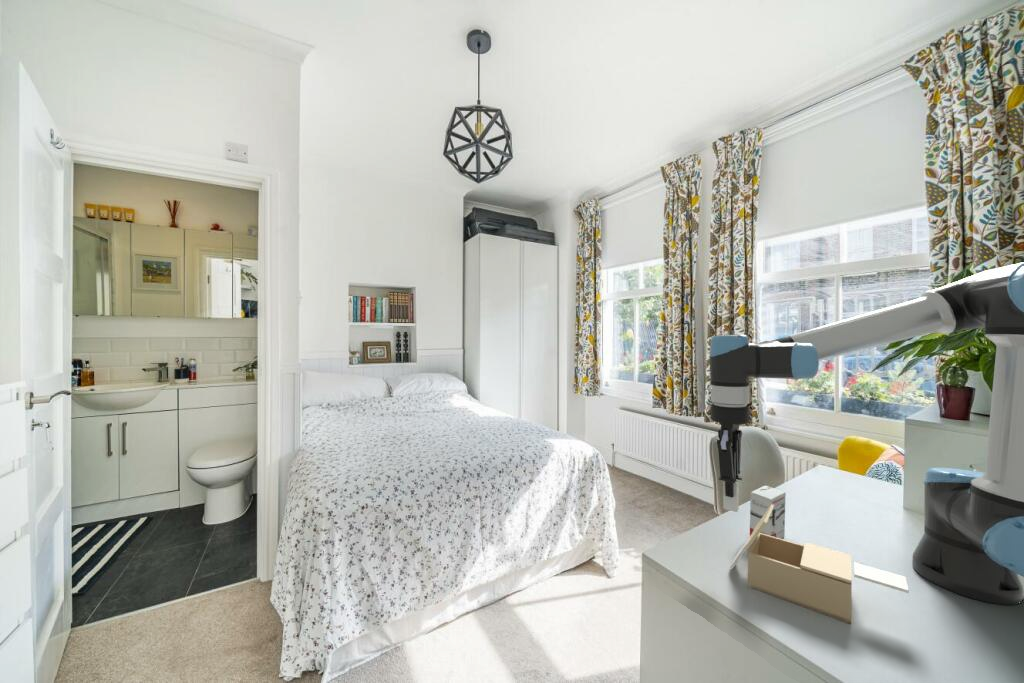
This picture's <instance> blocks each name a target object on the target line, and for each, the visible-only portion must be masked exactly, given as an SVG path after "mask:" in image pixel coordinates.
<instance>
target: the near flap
mask: <svg viewBox="0 0 1024 683" xmlns="http://www.w3.org/2000/svg"><path fill="white" fill-rule="evenodd" d="M803 545H804V549H803V554H802V559H801V564H800V567H801V568H804V569H807V570H810V571H814V572H817V573H820V574H823V575H826V576H830V577H833V578H836V579H839V580H842V581H845V582H849V583H852V581H853V580H852V577H853V575H852V572H853V573H854V578H857V579H860V580H863V581H866V582H870V583H873V584H877V585H878V586H879V585H881V586H883V587H886V588H890V589H893V590H897V591H900V592H904V593H906V594H909V592H910V591H909V590H910V589H909V587H908V582H907V577H906V576H904V575H901V574H897V573H894V572H890V571H887V570H883V569H879V568H876V567H873V566H870V565H865V564H862V563H858V562H856V561H853V571H852V554H848V553H845V552H842V551H838V550H835V549H831V548H828V547H824V546H820V545H817V544H814V543H810V542H804V544H803Z"/></svg>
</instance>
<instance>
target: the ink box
mask: <svg viewBox="0 0 1024 683" xmlns="http://www.w3.org/2000/svg"><path fill="white" fill-rule="evenodd" d="M786 496H787V495H786V491H783V490H779V489H777V488H774V487H771V486H769V485H763V486H761V487H759V488H757V489H755V490H753V491H751V492H750V505H749V506H750V509H749V511H750V512H749V536H750V535H751V534H752V532H753V530H754V528H755V527H756V525H757V524H758V523H759V521H760V520H761V518H762V517H763V515H764V514H765V513H766V511H767V510H768V508H769V507H770V506H771V504H773V505H774V507H773V509H772V512H771V514H770V516H769V519H768V521H767V523H766V525H765V526H764V527H763V529H762V530H761V532H760V533H763V534H766V535H770V536H773V537H777V538H780V539H783V538H784V537H785V533H786V532H785V529H786V528H785V526H786Z"/></svg>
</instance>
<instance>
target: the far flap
mask: <svg viewBox="0 0 1024 683" xmlns="http://www.w3.org/2000/svg"><path fill="white" fill-rule="evenodd" d="M773 507H774V505H773V504H771V506H770V507H769V508H768V510H767V511H766V513H765V514H764V515H763V517H762V518H761V520H760V521H759V523H758V524H757V525H756V527H755V528H754V530H753V532H752V534H751V535H750V534H749V537H748V538H747V540H746V541H745V542H744V544H743V545H742V547H740V549H739V551H738V552H737V554H736V555H735V557H734V559H733V561H732V563H731V564H730V566H729V568H730V569H731V570H733V569H734V567H735V566H736V565H737V563H738V562H739V560H740V559H741V558H742V556H743V555H744V553H745V552H746V551H749V549H750V548H751V546H752V543H753V541H754V540H755V539H756V537H757V536H758V534H759V533H760V532H761V530H762V529H763V527H764V526H765V525H766V523H767V521H768V519H769V516H770V514H771V512H772V509H773Z"/></svg>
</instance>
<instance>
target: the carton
mask: <svg viewBox="0 0 1024 683" xmlns="http://www.w3.org/2000/svg"><path fill="white" fill-rule="evenodd" d="M803 549H804V544H801V543H799V542H794V541H790V540H787V539H783V538H781V539H780V538H777V537H773V536H770V535H766V534H763V533H759V534H758V536H757V537H756V539H755V540H754V541H753V543H752V544H751V546H750V547H749V549H748V553H747V555H748V556H747V569H748V570H747V587H748V588H750V589H754V590H756V591H759V592H762V593H765V594H767V595H771V596H773V597H775V598H778V599H782V600H784V601H786V602H789V603H791V604H792V603H793V604H795V605H798V606H800V607H803V608H806V609H809V610H811V611H813V612H817V613H819V614H822V615H824V616H828V617H830V618H834V619H836V620H839V621H841V622H844V623H846V624H850V625H852V593H853V592H852V583H849V582H845V581H842V580H839V579H836V578H833V577H830V576H826V575H823V574H820V573H817V572H814V571H810V570H807V569H804V568H801V567H800V564H801V559H802V554H803Z"/></svg>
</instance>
